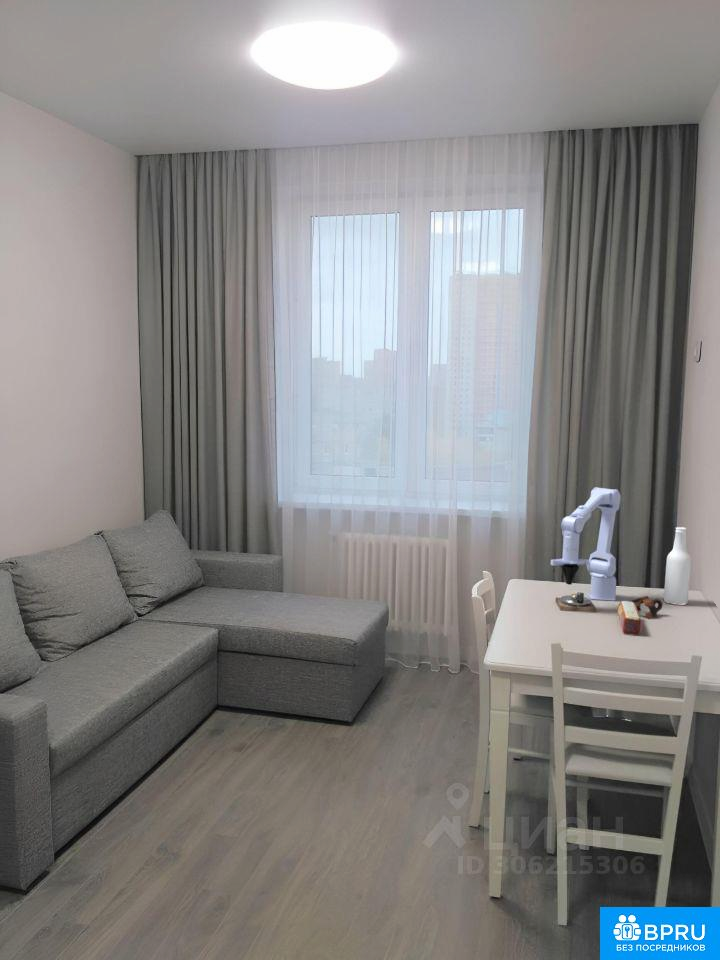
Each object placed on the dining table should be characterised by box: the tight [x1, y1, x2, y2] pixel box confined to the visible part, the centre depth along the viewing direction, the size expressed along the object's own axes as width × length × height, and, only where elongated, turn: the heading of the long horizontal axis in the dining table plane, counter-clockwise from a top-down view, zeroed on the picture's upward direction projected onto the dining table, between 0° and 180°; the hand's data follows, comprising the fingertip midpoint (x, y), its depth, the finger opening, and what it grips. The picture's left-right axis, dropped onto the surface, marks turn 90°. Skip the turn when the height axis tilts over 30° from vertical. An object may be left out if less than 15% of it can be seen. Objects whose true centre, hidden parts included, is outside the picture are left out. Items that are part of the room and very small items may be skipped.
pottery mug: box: [630, 595, 664, 619], centre depth 285 cm, size 12×10×8 cm
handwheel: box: [560, 592, 592, 606], centre depth 293 cm, size 11×11×5 cm
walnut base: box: [555, 597, 597, 613], centre depth 293 cm, size 13×13×2 cm
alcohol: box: [663, 526, 692, 604], centre depth 302 cm, size 9×9×30 cm
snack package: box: [617, 600, 643, 636], centre depth 269 cm, size 21×7×7 cm, turn 165°
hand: (568, 583), depth 290 cm, fingers closed
